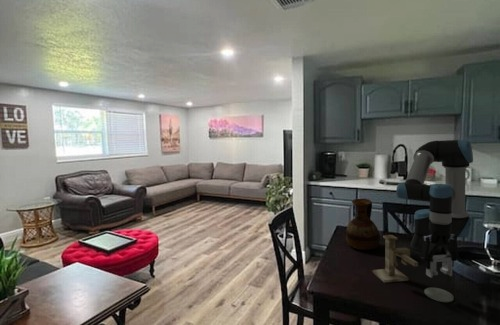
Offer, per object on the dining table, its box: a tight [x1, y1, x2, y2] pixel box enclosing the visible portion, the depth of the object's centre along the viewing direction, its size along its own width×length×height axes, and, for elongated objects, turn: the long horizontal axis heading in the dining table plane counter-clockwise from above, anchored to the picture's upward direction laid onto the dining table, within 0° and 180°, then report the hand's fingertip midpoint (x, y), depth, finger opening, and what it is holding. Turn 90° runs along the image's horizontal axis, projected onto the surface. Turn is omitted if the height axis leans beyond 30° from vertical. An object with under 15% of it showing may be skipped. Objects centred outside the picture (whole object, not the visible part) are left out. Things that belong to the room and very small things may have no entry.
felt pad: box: [424, 287, 454, 303], centre depth 114 cm, size 10×10×1 cm
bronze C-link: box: [389, 247, 411, 267], centre depth 123 cm, size 8×3×7 cm, turn 96°
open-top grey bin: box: [431, 254, 451, 276], centre depth 113 cm, size 8×3×7 cm, turn 96°
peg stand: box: [372, 234, 419, 284], centre depth 124 cm, size 12×22×20 cm, turn 6°
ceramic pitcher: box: [345, 198, 381, 251], centre depth 167 cm, size 20×20×30 cm
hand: (439, 275), depth 113 cm, fingers closed on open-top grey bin, 8 cm apart
